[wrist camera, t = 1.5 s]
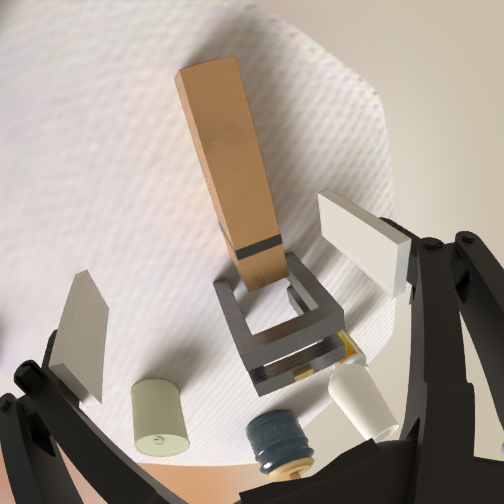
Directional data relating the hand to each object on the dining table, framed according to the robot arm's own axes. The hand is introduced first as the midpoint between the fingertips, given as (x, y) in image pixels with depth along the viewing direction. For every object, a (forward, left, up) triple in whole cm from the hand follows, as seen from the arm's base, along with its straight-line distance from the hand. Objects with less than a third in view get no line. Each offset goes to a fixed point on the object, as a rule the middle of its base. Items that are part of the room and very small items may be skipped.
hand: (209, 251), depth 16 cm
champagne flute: (+34, +12, -21) cm, 41 cm away
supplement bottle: (+39, +16, -21) cm, 47 cm away
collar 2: (+24, +5, -21) cm, 32 cm away
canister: (+62, -2, -21) cm, 65 cm away
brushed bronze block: (+2, +5, -21) cm, 21 cm away
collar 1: (+18, +5, -21) cm, 28 cm away
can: (+35, -19, -21) cm, 45 cm away
